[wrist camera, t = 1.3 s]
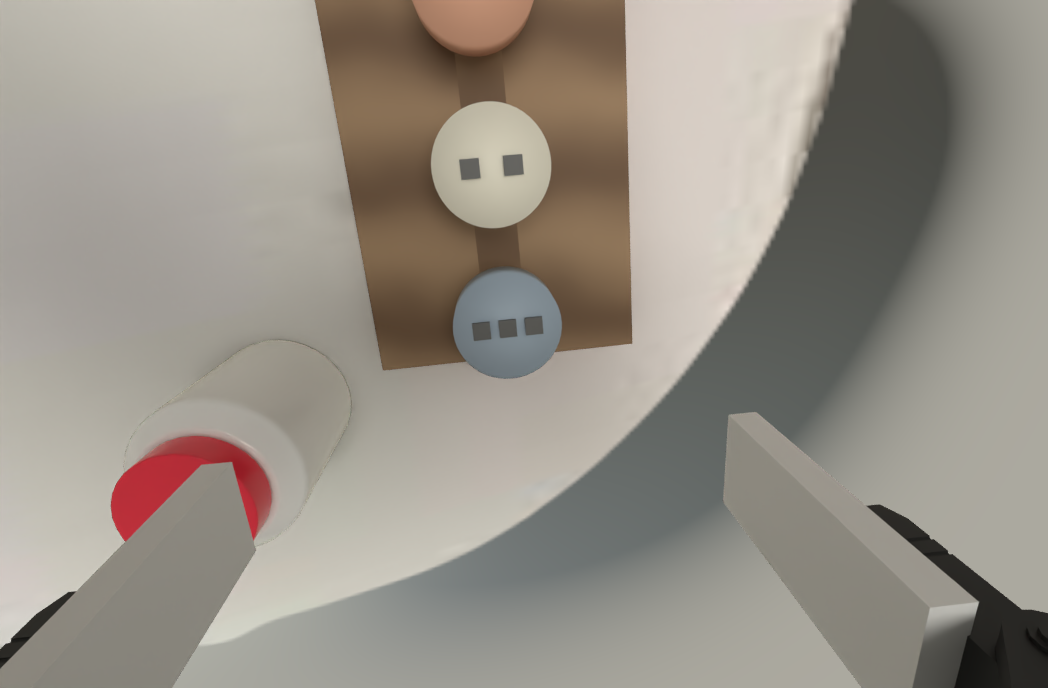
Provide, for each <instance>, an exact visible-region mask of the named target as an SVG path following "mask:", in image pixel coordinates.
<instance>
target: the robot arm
mask: <svg viewBox="0 0 1048 688" xmlns="http://www.w3.org/2000/svg"><path fill="white" fill-rule="evenodd" d="M723 502H724V504H725V505H726V506H727V508H728V509H729V510H730V512H731V513H732V514H733V516H734V517H735V518H736V520H737V521H738V522H739V524H740V525H741V526H742V527H743V529H744V530H745V532H746V533H747V535H748V536H749V537H750V538H751V540H752V541H753V542H754V544H755V545H756V546H757V548H758V549H759V551H760V552H761V553H762V555H763V556H764V557H765V559H766V560H767V561H768V563H769V564H770V565H771V567H772V568H773V569H774V571H775V572H776V573H777V575H778V576H779V577H780V579H781V580H782V581H783V583H784V584H785V585H786V587H787V588H788V589H789V591H790V592H791V594H792V595H793V596H794V597H795V599H796V600H797V602H798V603H799V604H800V606H801V607H802V608H803V610H804V611H805V612H806V614H807V615H808V616H809V618H810V619H811V620H812V622H813V623H814V624H815V626H816V627H817V628H818V630H819V631H820V632H821V634H822V635H823V636H824V638H825V639H826V641H827V642H828V643H829V645H830V646H831V647H832V649H833V650H834V651H835V653H836V654H837V655H838V657H839V658H840V659H841V661H842V662H843V663H844V665H845V666H846V667H847V669H848V670H849V671H850V673H851V674H852V675H853V677H854V678H855V679H856V681H857V682H858V683H859V685H860V686H861V688H1048V613H1044V612H1039V611H1034V610H1021V609H1020V608H1019V607H1018V606H1016V605H1015V604H1014V603H1013V602H1012V601H1010V600H1009V599H1008V598H1007V597H1005V596H1004V595H1003V594H1001V593H1000V592H999V591H998V590H996V589H995V588H994V587H993V586H991V585H990V584H989V583H988V582H986V581H985V580H984V579H983V578H981V577H980V576H979V575H978V574H976V573H975V572H974V571H973V570H971V569H970V568H969V567H968V566H966V565H965V564H964V563H963V562H961V561H960V560H959V559H957V558H956V557H955V556H954V555H953V554H951V555H949V554H948V551H947V550H946V549H945V548H944V547H943V546H941V545H940V544H939V543H938V542H936V541H935V540H934V539H933V540H931V539H930V537H929V535H928V534H926V533H925V532H924V531H923V530H921V529H920V528H919V527H918V526H916V525H915V524H914V523H913V522H911V521H910V520H909V519H907V518H906V517H904V516H902V515H899V514H897V513H896V512H894V511H892V510H890V509H888V508H886V507H884V506H882V505H871V506H866V505H864V504H863V503H862V502H861V501H860V500H859V499H857V498H856V497H855V496H854V495H853V494H852V493H850V492H849V491H848V490H847V489H846V488H844V487H843V486H842V485H841V484H840V483H839V482H837V481H836V480H835V479H834V478H833V477H832V476H830V475H829V474H828V473H827V472H826V471H825V470H823V469H822V468H821V467H820V466H819V465H817V464H816V463H815V462H814V461H813V460H812V459H810V458H809V457H808V456H807V455H806V454H805V453H803V452H802V451H801V450H800V449H799V448H798V447H796V446H795V445H794V444H793V443H792V442H790V441H789V440H788V439H787V438H786V437H785V436H784V435H782V434H781V433H780V432H779V431H778V430H776V429H775V428H774V427H773V426H772V425H771V424H769V423H768V422H767V421H766V420H765V419H764V418H762V417H761V416H760V415H759V414H758V413H757V412H753V413H742V414H732V415H729V416H728V433H727V449H726V465H725V482H724V496H723ZM255 551H256V549H255V545H254V541H253V538H252V534H251V530H250V527H249V523H248V519H247V516H246V512H245V508H244V505H243V501H242V497H241V494H240V490H239V486H238V482H237V479H236V475H235V471H234V468H233V464H232V462H226V463H215V464H205V465H201V466H200V467H199V468H198V469H197V470H196V471H195V472H194V473H193V474H192V475H191V476H190V477H189V478H188V479H187V480H186V481H185V482H184V483H183V484H182V485H181V486H180V487H179V488H178V489H177V490H176V491H175V492H174V493H173V494H172V495H171V496H170V497H169V498H168V499H167V500H166V501H165V502H164V503H163V504H162V505H161V506H160V507H159V508H158V509H157V510H156V511H155V512H154V513H153V514H152V515H151V516H150V517H149V518H148V519H147V520H146V521H145V522H144V523H143V524H142V526H141V527H140V528H139V529H138V530H137V531H136V532H135V533H134V534H133V535H132V536H131V537H130V538H129V539H128V540H127V541H126V542H125V543H124V544H123V545H122V546H121V547H120V548H119V549H118V550H117V551H116V552H115V553H114V554H113V555H112V556H111V557H110V558H109V559H108V560H107V561H106V562H105V563H104V564H103V565H102V566H101V567H100V568H99V569H98V570H97V571H96V572H95V573H94V574H93V575H92V576H91V577H90V578H89V579H88V580H87V581H86V582H85V583H84V584H83V585H82V586H81V587H80V588H79V589H78V590H77V591H75V592H68V593H67V594H65V595H64V596H62V597H61V598H59V599H58V600H56V601H55V602H53V603H52V604H50V605H49V606H48V607H46V608H45V609H43V610H42V611H40V612H39V613H37V614H36V615H35V616H34V617H33V618H32V619H31V620H30V621H29V622H28V623H27V624H26V625H25V626H24V627H23V628H22V629H21V630H20V631H19V632H17V633H16V634H15V635H14V636H13V637H12V638H11V642H10V643H7V644H5V645H4V646H3V647H2V648H1V649H0V688H172V687H173V685H174V684H175V682H176V680H177V679H178V677H179V676H180V674H181V672H182V671H183V669H184V667H185V666H186V664H187V662H188V661H189V659H190V657H191V656H192V654H193V653H194V651H195V649H196V648H197V646H198V644H199V643H200V641H201V640H202V638H203V636H204V635H205V633H206V631H207V630H208V628H209V626H210V625H211V623H212V622H213V620H214V618H215V617H216V615H217V613H218V612H219V610H220V608H221V607H222V605H223V604H224V602H225V600H226V599H227V597H228V595H229V594H230V592H231V590H232V589H233V587H234V586H235V584H236V582H237V581H238V579H239V577H240V576H241V574H242V572H243V571H244V569H245V568H246V566H247V564H248V563H249V561H250V559H251V558H252V556H253V554H254V553H255Z"/></svg>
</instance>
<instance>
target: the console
mask: <svg viewBox="0 0 1048 688" xmlns="http://www.w3.org/2000/svg"><path fill="white" fill-rule="evenodd" d="M315 3H316V9H317V14H318V20H319V25H320V31H321V36H322V41H323V47H324V52H325V58H326V63H327V69H328V74H329V80H330V85H331V90H332V96H333V101H334V107H335V112H336V118H337V123H338V128H339V134H340V139H341V145H342V150H343V156H344V161H345V166H346V172H347V177H348V183H349V188H350V194H351V199H352V204H353V210H354V215H355V221H356V226H357V232H358V237H359V242H360V248H361V253H362V259H363V264H364V270H365V275H366V280H367V286H368V291H369V297H370V302H371V308H372V313H373V319H374V324H375V329H376V335H377V340H378V346H379V351H380V357H381V362H382V367H383V370H392V369H401V368H410V367H419V366H429V365H438V364H447V363H457V362H466V360H465V359H464V358H463V356H462V355H461V353H460V352H459V350H458V348H457V346H456V343H455V339H454V335H453V319H454V314H455V309H456V304H457V301H458V298H459V296H460V294H461V292H462V290H463V289H464V287H465V286H466V285H467V283H468V282H469V281H470V280H471V279H473V278H474V277H475V276H476V275H478V274H480V273H481V272H483V271H486V270H488V269H491V268H495V267H502V266H510V267H517V268H521V269H524V270H526V271H528V272H530V273H532V274H534V275H535V276H537V277H538V278H539V279H540V280H541V281H542V282H543V283H544V284H545V285H546V286H547V288H548V289H549V291H550V293H551V294H552V296H553V298H554V299H555V301H556V303H557V305H558V308H559V310H560V314H561V320H562V331H561V337H560V341H559V344H558V346H557V348H556V350H555V352H559V351H568V350H577V349H586V348H596V347H605V346H614V345H623V344H632V315H631V269H630V223H629V177H628V131H627V85H626V39H625V0H534V1H533V4H532V8H531V11H530V14H529V17H528V20H527V22H526V24H525V26H524V28H523V29H522V31H521V32H520V34H519V35H518V36H517V37H516V38H515V40H514V41H512V42H511V43H510V44H509V45H508V46H506V47H505V48H503V49H502V50H500V51H498V52H496V53H493V54H490V55H487V56H480V57H471V56H464V55H461V54H457V53H455V52H452V51H450V50H448V49H447V48H445V47H443V46H442V45H441V44H439V43H438V42H437V41H436V40H435V39H434V38H433V37H432V36H431V35H430V34H429V33H428V31H427V30H426V29H425V27H424V26H423V24H422V22H421V20H420V19H419V16H418V14H417V12H416V9H415V7H414V4H413V2H412V0H315ZM485 101H495V102H502V103H505V104H509V105H511V106H514V107H516V108H518V109H520V110H521V111H523V112H524V113H526V114H527V115H528V116H529V117H530V118H531V119H532V120H533V121H534V122H535V123H536V124H537V125H538V127H539V128H540V130H541V131H542V133H543V135H544V137H545V139H546V141H547V144H548V147H549V151H550V156H551V176H550V181H549V185H548V188H547V191H546V193H545V195H544V197H543V199H542V201H541V202H540V204H539V205H538V206H537V208H536V209H535V210H534V211H533V212H532V213H531V214H529V215H528V216H527V217H526V218H524V219H523V220H521V221H519V222H517V223H515V224H513V225H510V226H507V227H502V228H483V227H478V226H475V225H472V224H469V223H467V222H465V221H463V220H462V219H460V218H459V217H457V216H456V215H455V214H454V213H452V212H451V211H450V210H449V209H448V208H447V206H446V205H445V204H444V203H443V201H442V199H441V198H440V196H439V194H438V192H437V190H436V188H435V185H434V182H433V177H432V172H431V155H432V149H433V145H434V142H435V139H436V137H437V135H438V133H439V131H440V129H441V128H442V126H443V125H444V124H445V123H446V121H447V120H448V119H449V118H450V117H451V116H452V115H453V114H455V113H456V112H457V111H459V110H460V109H462V108H464V107H466V106H468V105H471V104H474V103H478V102H485Z"/></svg>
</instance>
